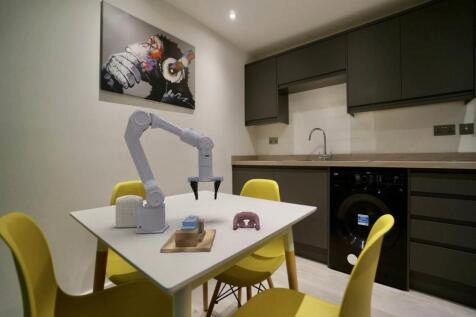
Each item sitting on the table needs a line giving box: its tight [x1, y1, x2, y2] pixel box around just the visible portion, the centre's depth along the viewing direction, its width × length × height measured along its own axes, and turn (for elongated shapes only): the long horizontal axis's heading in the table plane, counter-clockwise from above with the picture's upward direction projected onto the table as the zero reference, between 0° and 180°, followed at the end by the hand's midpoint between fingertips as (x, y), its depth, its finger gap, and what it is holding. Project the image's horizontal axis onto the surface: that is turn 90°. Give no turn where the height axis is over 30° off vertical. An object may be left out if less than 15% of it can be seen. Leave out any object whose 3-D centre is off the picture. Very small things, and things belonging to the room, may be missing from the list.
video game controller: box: [232, 211, 260, 231], centre depth 81 cm, size 10×5×7 cm, turn 85°
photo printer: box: [115, 194, 144, 228], centre depth 85 cm, size 10×4×12 cm, turn 94°
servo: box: [180, 212, 201, 236], centre depth 69 cm, size 4×10×7 cm, turn 0°
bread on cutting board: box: [159, 218, 217, 254], centre depth 69 cm, size 14×16×5 cm
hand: (206, 199), depth 89 cm, fingers open, 7 cm apart
